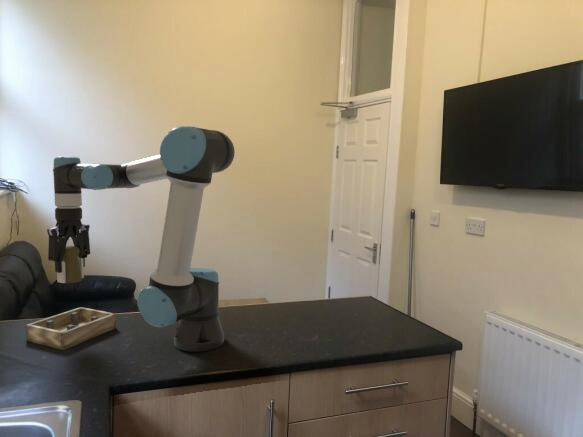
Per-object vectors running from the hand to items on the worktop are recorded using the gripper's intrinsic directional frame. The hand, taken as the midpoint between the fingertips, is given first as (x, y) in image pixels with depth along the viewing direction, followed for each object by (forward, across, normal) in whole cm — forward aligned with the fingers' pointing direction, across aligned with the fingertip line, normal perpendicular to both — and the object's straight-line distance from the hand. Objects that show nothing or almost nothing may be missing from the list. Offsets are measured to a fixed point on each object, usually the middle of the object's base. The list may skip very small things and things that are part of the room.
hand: (70, 279), depth 139 cm
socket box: (+18, 0, 0) cm, 18 cm away
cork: (0, 0, 0) cm, 1 cm away
